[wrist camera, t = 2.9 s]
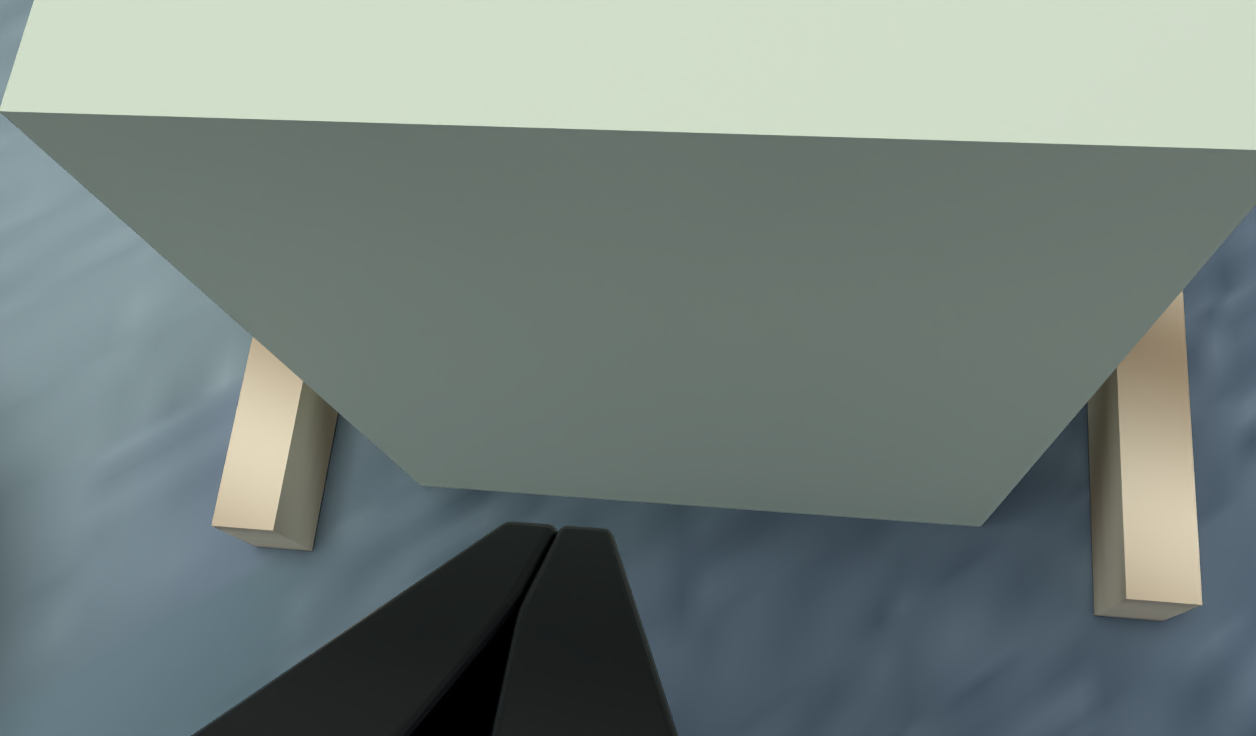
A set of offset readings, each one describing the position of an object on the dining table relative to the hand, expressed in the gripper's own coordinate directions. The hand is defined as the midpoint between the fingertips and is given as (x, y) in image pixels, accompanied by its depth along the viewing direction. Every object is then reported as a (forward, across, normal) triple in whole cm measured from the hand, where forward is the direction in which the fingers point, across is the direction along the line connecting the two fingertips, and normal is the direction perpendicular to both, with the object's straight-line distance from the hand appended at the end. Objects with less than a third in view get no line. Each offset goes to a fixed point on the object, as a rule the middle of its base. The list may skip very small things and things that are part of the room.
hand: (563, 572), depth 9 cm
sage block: (+16, 0, +3) cm, 16 cm away
